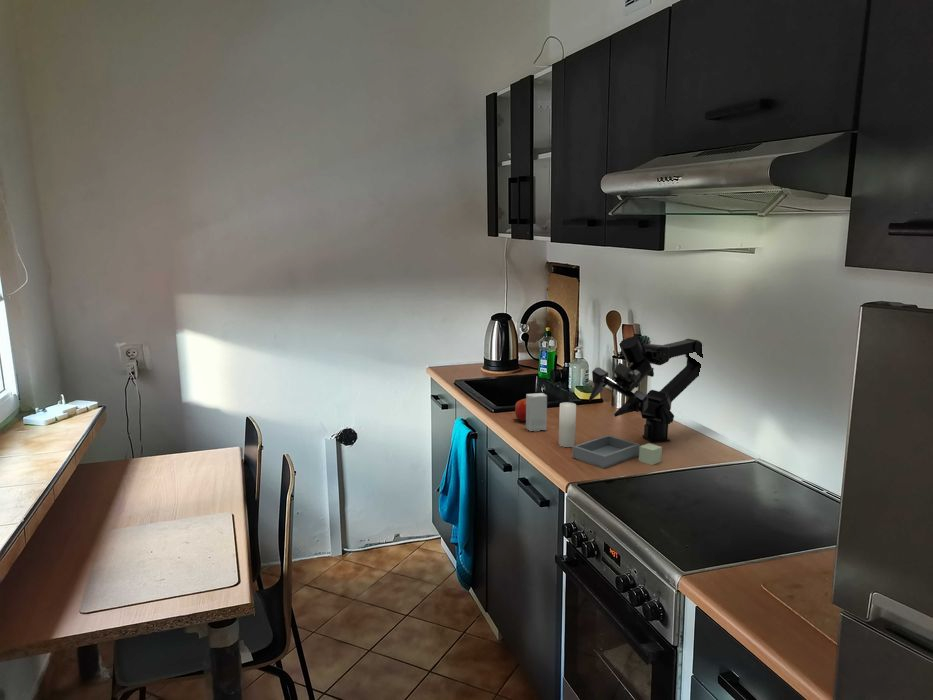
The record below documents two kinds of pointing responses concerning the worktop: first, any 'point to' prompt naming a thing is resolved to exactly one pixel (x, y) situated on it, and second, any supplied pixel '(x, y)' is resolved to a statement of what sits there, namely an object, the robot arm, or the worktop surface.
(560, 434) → the white cylinder
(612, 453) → the tote
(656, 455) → the green cube
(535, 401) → the skincare box
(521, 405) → the apple
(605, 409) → the worktop surface
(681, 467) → the worktop surface
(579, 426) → the worktop surface
